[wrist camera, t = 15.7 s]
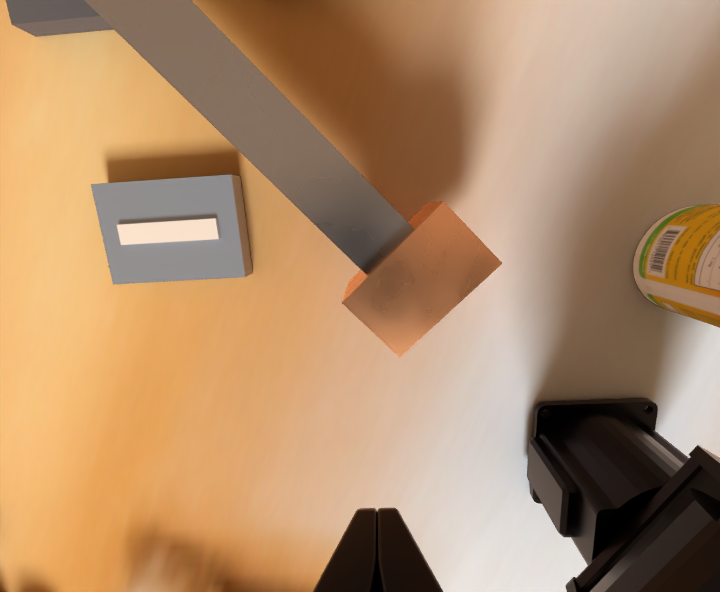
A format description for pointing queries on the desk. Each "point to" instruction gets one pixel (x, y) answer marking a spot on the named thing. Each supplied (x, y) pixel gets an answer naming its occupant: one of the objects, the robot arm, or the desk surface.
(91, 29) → the pivot base
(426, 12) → the desk surface
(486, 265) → the swing arm
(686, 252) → the supplement bottle
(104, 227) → the label tile
